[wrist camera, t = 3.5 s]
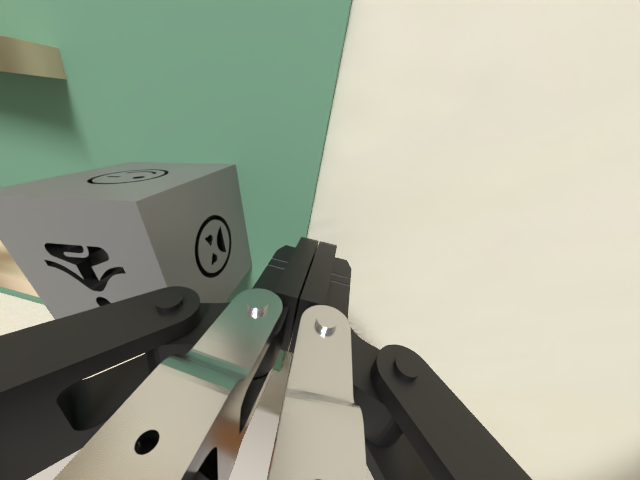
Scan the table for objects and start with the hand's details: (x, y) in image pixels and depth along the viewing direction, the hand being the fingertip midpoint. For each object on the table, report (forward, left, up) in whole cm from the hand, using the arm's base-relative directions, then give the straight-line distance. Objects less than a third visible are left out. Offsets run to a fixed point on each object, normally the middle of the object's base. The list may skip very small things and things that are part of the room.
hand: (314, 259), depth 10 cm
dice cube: (+6, 0, -1) cm, 6 cm away
